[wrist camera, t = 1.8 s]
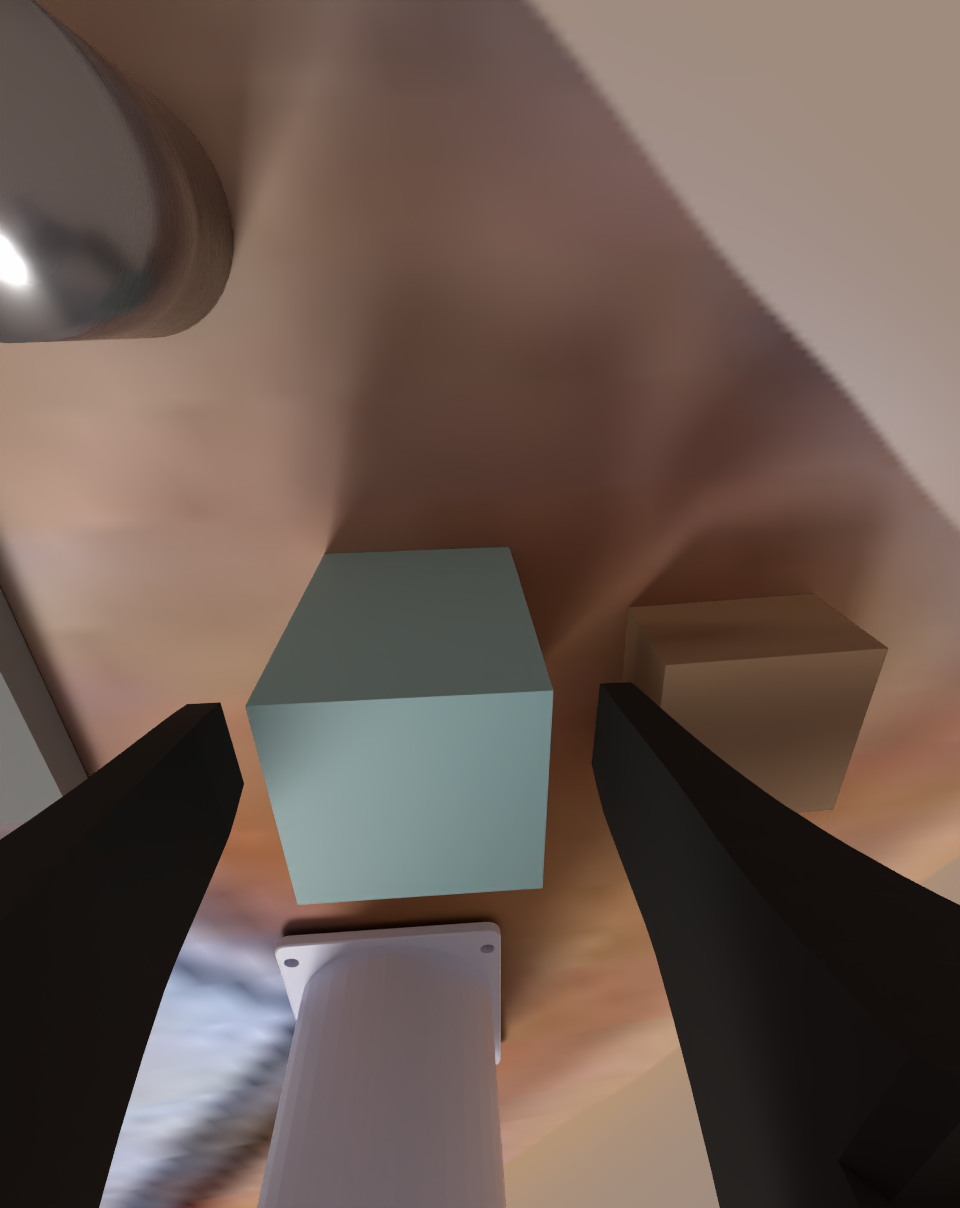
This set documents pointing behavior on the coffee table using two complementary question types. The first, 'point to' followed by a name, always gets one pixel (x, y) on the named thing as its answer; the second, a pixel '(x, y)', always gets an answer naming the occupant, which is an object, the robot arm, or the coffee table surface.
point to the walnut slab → (761, 686)
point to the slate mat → (29, 733)
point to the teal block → (408, 728)
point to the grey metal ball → (98, 196)
